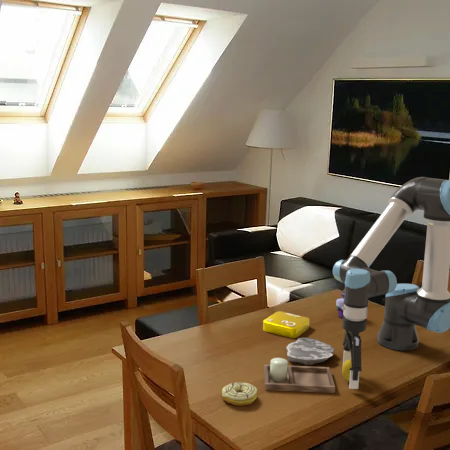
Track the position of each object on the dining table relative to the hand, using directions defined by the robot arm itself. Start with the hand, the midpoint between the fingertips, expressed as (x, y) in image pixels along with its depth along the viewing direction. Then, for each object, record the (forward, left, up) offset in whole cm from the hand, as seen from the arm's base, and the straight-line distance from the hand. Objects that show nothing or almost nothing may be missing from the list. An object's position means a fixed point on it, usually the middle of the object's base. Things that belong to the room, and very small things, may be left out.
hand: (350, 378), depth 190 cm
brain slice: (+11, -19, -2) cm, 22 cm away
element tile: (+18, -44, -2) cm, 48 cm away
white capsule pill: (+23, +1, -1) cm, 24 cm away
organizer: (+17, +1, -1) cm, 17 cm away
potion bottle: (-8, -60, -1) cm, 61 cm away
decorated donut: (+36, +14, -2) cm, 39 cm away
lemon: (0, 0, -1) cm, 1 cm away
